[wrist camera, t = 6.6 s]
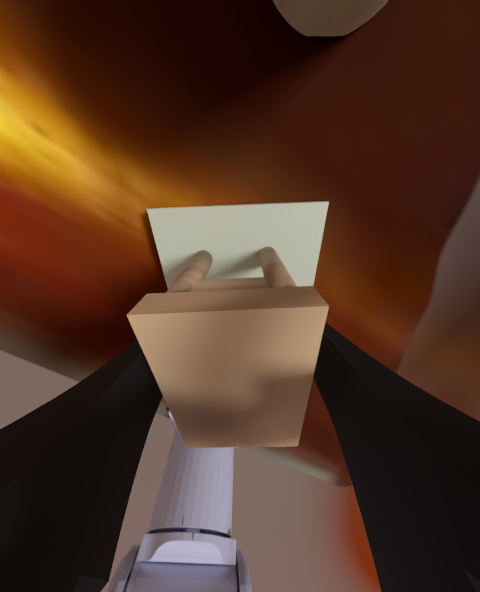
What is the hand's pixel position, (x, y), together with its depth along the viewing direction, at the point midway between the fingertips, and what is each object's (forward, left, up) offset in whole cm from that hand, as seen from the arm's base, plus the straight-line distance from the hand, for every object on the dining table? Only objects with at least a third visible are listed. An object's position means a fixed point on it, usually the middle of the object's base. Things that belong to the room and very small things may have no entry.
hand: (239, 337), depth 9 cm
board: (0, 0, -5) cm, 5 cm away
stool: (0, 0, -4) cm, 4 cm away
